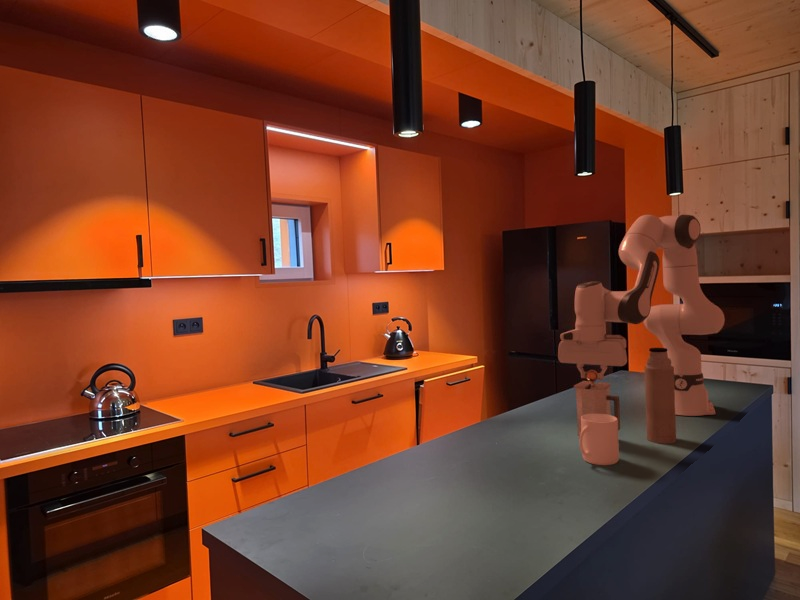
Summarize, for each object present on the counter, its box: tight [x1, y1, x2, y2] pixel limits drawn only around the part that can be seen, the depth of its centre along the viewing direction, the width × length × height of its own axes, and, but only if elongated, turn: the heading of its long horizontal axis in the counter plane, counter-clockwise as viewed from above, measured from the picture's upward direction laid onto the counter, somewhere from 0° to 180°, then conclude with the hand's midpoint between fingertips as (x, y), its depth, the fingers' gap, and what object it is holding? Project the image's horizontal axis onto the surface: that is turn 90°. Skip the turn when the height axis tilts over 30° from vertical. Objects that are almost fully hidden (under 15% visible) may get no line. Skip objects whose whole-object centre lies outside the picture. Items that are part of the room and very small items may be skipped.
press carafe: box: [573, 380, 621, 440], centre depth 159 cm, size 9×12×17 cm
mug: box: [579, 414, 620, 466], centre depth 141 cm, size 10×12×12 cm
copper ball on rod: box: [585, 369, 599, 387], centre depth 159 cm, size 7×7×18 cm
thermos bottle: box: [644, 347, 677, 445], centre depth 156 cm, size 8×8×28 cm
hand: (592, 378), depth 159 cm, fingers closed on copper ball on rod, 4 cm apart
